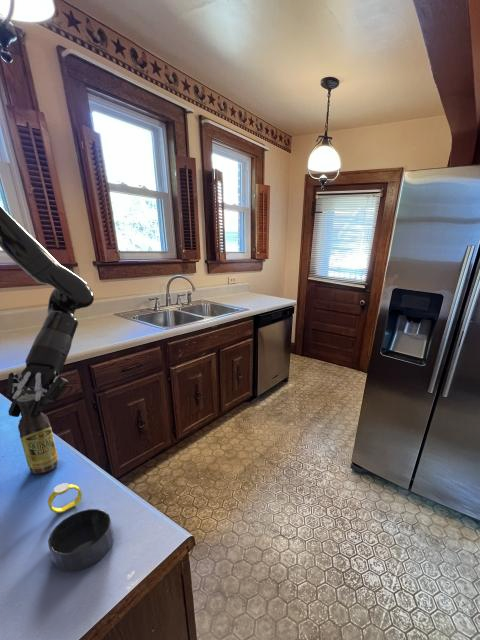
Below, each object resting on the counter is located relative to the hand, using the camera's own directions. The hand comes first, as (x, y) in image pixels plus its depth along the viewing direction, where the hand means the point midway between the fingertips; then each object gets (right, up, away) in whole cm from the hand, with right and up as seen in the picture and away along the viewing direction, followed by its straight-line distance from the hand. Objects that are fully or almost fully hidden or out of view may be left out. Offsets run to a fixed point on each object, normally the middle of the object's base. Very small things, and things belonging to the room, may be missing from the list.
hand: (22, 416), depth 72 cm
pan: (+21, -24, -11) cm, 34 cm away
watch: (+12, -20, -3) cm, 24 cm away
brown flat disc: (-1, -14, +8) cm, 16 cm away
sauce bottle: (-1, -14, +8) cm, 16 cm away
